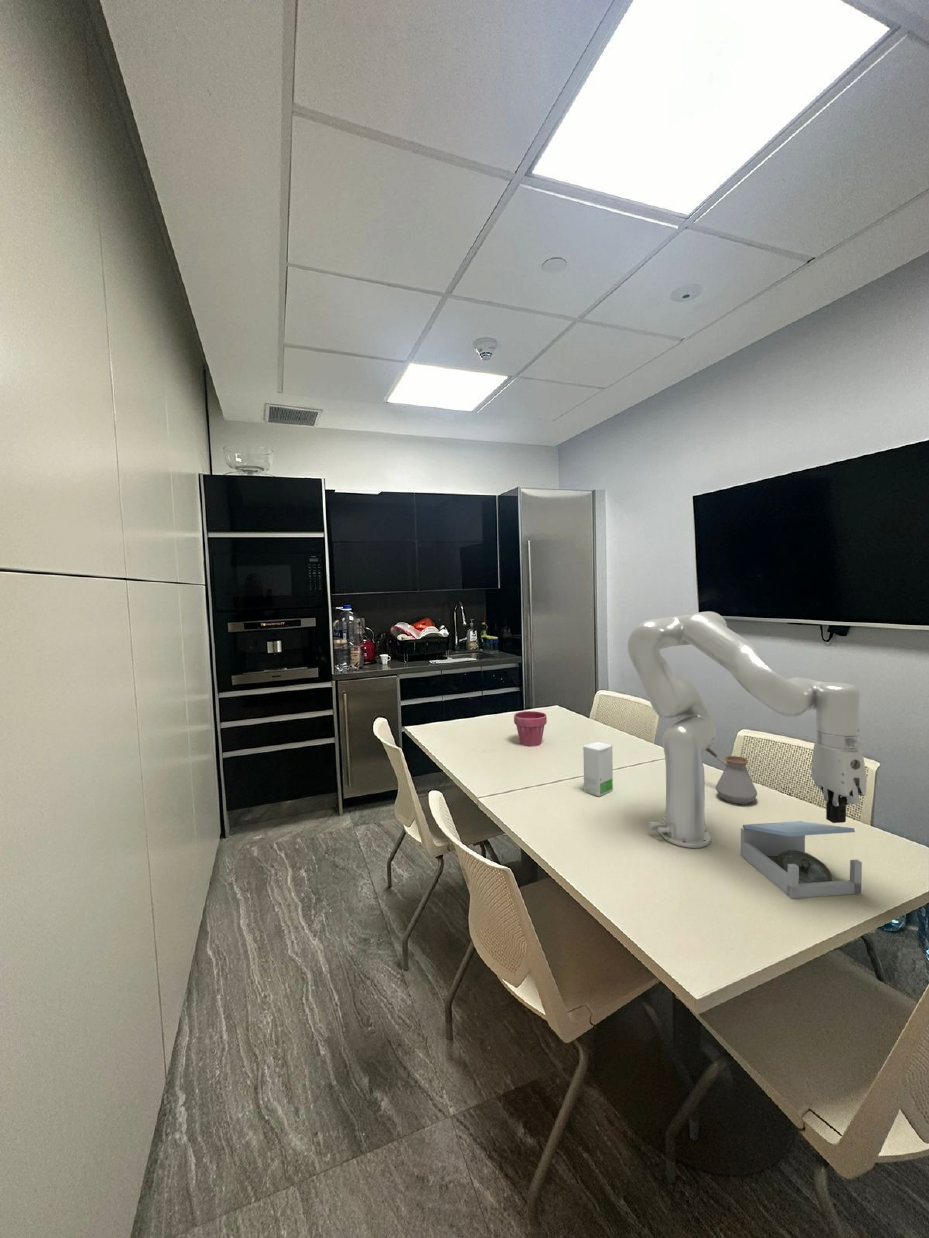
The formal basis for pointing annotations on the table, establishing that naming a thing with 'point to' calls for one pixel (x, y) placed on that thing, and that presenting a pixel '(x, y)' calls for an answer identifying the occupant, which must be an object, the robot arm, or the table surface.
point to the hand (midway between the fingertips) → (835, 820)
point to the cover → (798, 828)
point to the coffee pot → (735, 780)
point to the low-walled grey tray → (792, 865)
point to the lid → (805, 866)
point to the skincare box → (598, 768)
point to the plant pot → (530, 727)
